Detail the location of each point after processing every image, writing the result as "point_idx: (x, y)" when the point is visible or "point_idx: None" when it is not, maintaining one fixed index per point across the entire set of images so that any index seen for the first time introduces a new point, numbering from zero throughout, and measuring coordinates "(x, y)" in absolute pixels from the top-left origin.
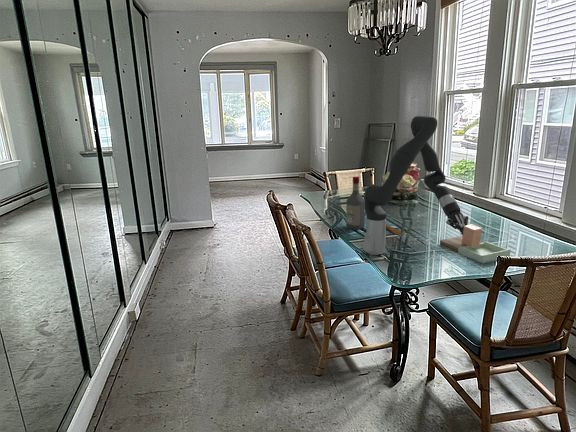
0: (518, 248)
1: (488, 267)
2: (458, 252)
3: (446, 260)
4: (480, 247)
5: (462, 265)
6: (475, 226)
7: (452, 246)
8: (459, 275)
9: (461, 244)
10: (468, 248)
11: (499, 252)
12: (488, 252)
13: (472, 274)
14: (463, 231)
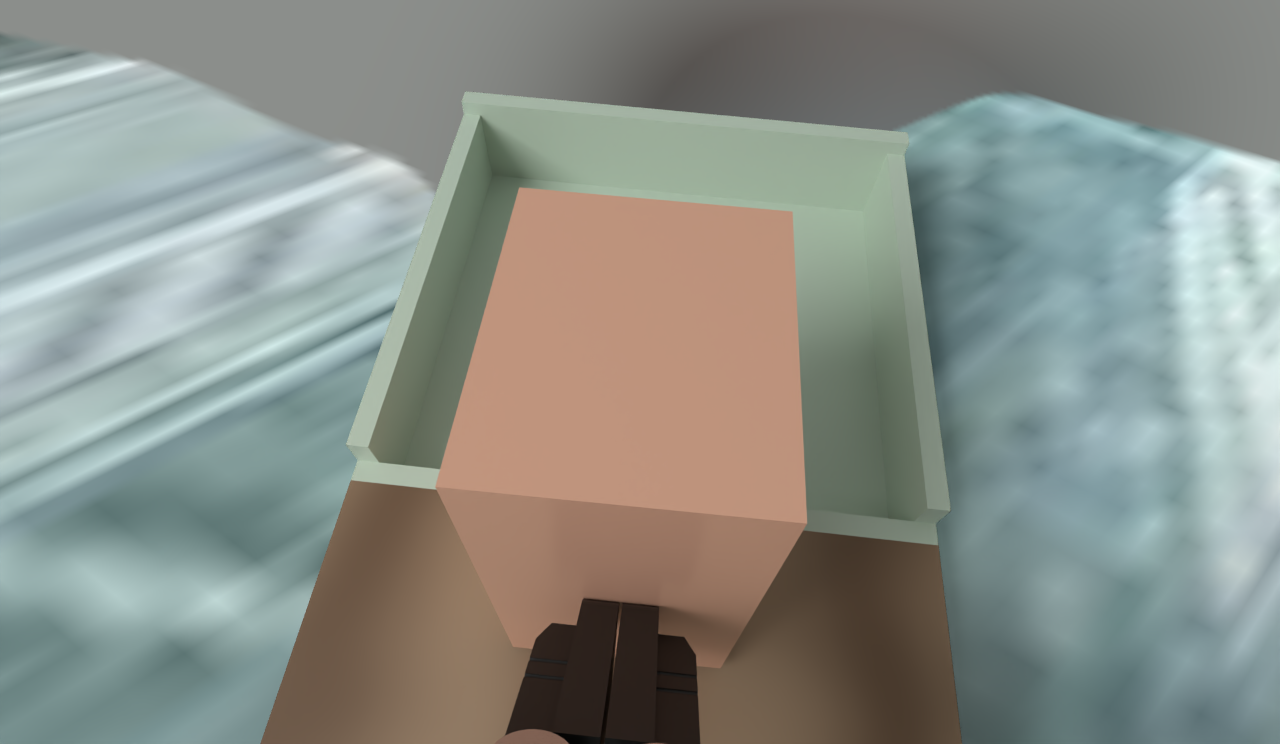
0: (82, 264)
1: None
2: None
3: (1234, 462)
4: None
5: (1113, 282)
6: (528, 329)
7: (945, 695)
8: (1275, 172)
9: (762, 632)
10: None
11: (649, 113)
12: None
13: (1138, 137)
14: (765, 586)
